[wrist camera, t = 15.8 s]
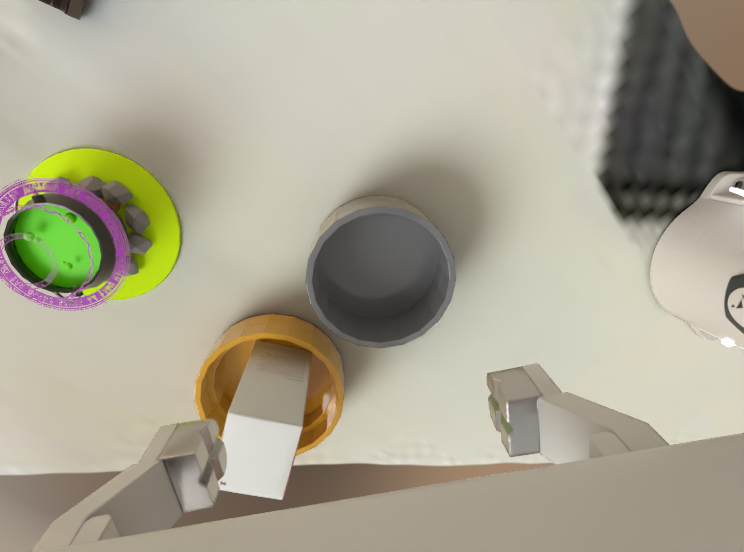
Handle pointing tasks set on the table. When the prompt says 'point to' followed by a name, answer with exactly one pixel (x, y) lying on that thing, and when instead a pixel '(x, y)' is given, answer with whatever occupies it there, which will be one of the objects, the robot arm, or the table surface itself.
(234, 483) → the small box
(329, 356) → the bowl
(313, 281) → the pot
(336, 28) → the table surface
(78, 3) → the tablet stand
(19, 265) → the toy cauldron
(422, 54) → the table surface
